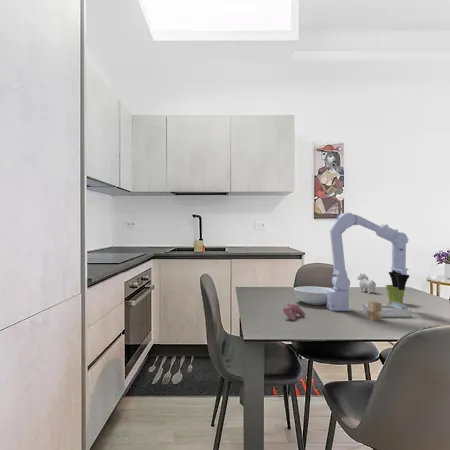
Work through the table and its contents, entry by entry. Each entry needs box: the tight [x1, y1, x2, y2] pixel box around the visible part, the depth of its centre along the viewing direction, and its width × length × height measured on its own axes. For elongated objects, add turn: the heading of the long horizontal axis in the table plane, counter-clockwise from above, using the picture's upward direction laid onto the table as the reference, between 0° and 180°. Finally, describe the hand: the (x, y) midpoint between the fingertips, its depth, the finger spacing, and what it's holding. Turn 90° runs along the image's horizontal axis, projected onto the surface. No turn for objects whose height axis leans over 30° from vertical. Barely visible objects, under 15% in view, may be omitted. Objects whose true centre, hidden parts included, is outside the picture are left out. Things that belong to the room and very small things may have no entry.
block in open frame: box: [361, 301, 412, 318], centre depth 168 cm, size 16×12×4 cm
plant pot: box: [385, 284, 407, 304], centre depth 191 cm, size 9×9×9 cm
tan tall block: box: [367, 300, 383, 322], centre depth 158 cm, size 4×4×7 cm
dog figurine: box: [356, 273, 377, 294], centre depth 225 cm, size 5×13×11 cm, turn 23°
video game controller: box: [282, 302, 306, 322], centre depth 159 cm, size 10×5×7 cm, turn 141°
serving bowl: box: [293, 285, 333, 306], centre depth 191 cm, size 21×21×7 cm
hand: (398, 288), depth 175 cm, fingers open, 7 cm apart
